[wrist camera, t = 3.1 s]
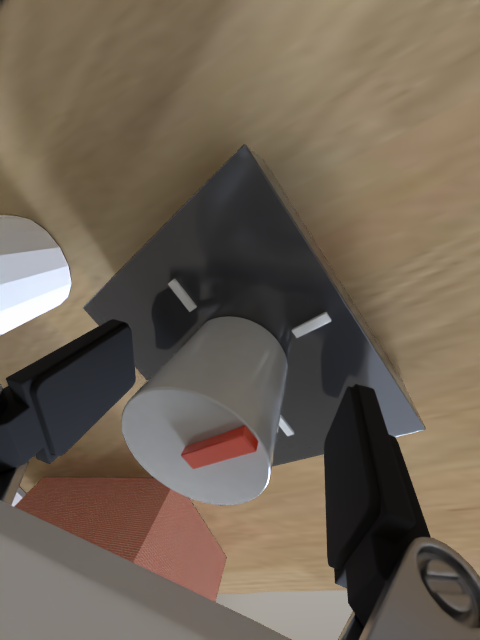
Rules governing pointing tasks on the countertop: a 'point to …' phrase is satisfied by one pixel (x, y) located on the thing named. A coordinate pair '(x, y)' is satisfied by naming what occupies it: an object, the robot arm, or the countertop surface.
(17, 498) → the skyscraper
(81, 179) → the countertop surface
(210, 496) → the hob knob
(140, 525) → the house
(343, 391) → the hob panel
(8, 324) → the shot glass
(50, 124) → the countertop surface
